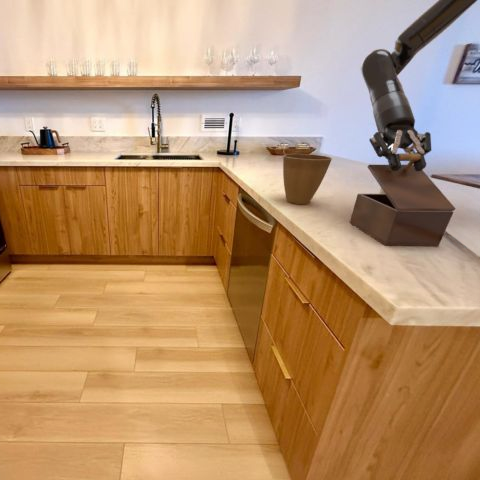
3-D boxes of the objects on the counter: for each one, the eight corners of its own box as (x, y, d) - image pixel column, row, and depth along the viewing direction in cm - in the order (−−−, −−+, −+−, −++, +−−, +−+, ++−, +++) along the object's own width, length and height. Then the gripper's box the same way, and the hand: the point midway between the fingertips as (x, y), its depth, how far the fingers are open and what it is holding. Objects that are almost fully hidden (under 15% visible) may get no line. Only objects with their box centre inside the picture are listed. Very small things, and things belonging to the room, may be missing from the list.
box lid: (367, 167, 77) (379, 148, 72) (415, 167, 76) (430, 148, 72) (396, 210, 66) (412, 192, 62) (453, 211, 66) (473, 192, 61)
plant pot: (323, 209, 95) (335, 160, 88) (276, 205, 100) (284, 158, 93) (318, 198, 108) (328, 154, 101) (276, 194, 112) (283, 152, 106)
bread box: (349, 222, 84) (357, 193, 80) (393, 223, 83) (403, 193, 80) (385, 245, 70) (397, 211, 66) (438, 246, 69) (453, 211, 66)
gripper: (374, 103, 73) (390, 160, 67) (432, 103, 72) (453, 160, 67) (356, 124, 80) (369, 177, 74) (409, 124, 79) (426, 177, 74)
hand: (409, 169), depth 71 cm, fingers closed on box lid, 5 cm apart
